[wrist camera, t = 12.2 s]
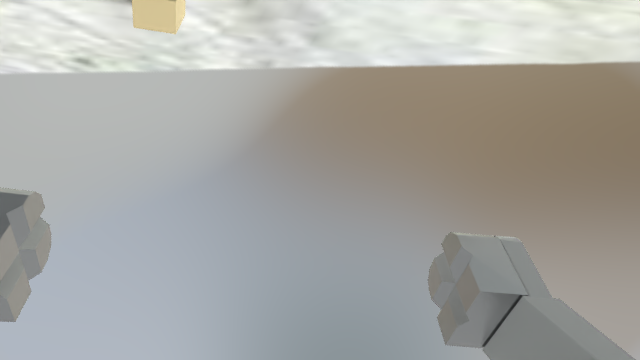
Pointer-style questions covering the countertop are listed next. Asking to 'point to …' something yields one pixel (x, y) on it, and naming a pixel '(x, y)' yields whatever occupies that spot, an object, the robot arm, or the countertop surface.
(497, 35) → the countertop surface
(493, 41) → the countertop surface
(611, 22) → the countertop surface
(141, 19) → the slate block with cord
